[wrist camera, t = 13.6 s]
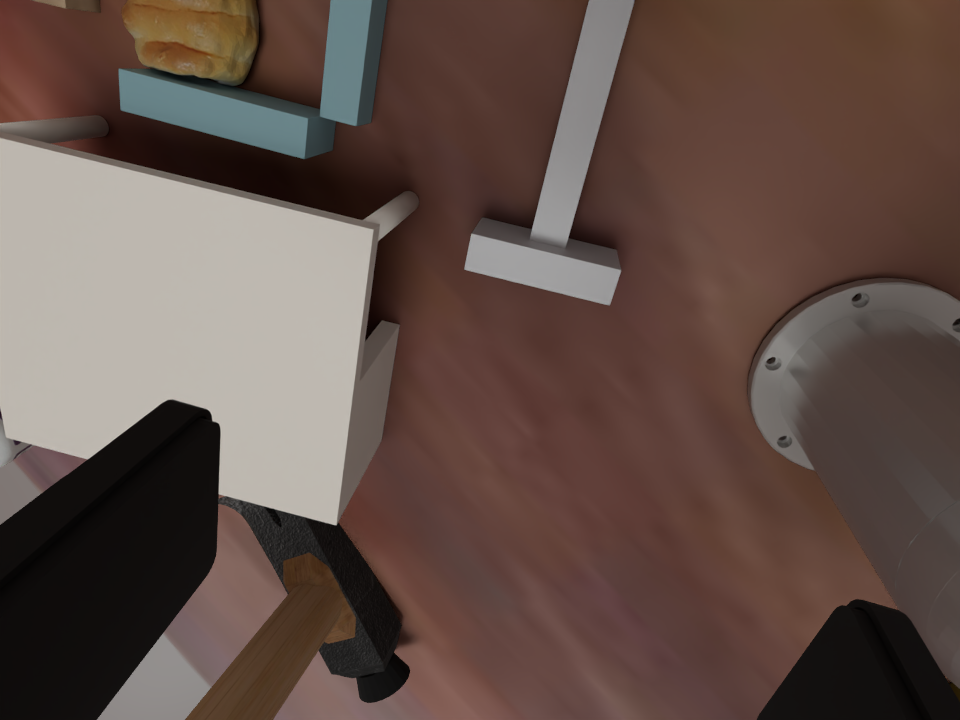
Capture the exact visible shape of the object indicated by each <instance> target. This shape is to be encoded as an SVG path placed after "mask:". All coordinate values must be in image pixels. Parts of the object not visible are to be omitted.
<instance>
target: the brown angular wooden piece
mask: <svg viewBox="0 0 960 720" xmlns="http://www.w3.org/2000/svg"><path fill="white" fill-rule="evenodd" d="M33 1H37V2H41V3H46V4H50V5H54V6H58V7H63V8H68V9H76V10H83V11H91V12H99V13H100V0H33Z"/></svg>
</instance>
